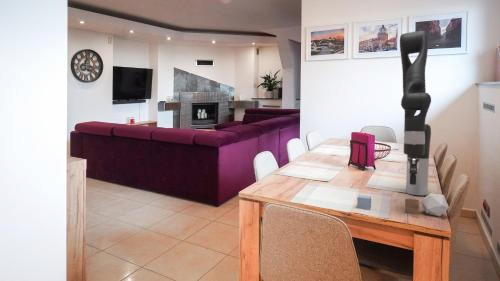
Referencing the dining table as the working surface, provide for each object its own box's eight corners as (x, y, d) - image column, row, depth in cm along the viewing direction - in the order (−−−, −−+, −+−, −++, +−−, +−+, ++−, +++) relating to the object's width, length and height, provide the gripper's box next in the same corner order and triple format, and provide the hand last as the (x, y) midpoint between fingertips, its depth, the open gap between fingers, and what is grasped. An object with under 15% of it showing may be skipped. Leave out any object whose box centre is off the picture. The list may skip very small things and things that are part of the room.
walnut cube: (405, 210, 133) (405, 198, 133) (418, 211, 131) (419, 199, 131) (404, 213, 129) (405, 200, 129) (418, 214, 127) (419, 202, 126)
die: (418, 214, 126) (447, 222, 121) (422, 192, 125) (452, 199, 120) (418, 208, 133) (446, 216, 129) (423, 188, 132) (451, 194, 128)
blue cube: (358, 206, 139) (359, 194, 139) (371, 207, 137) (371, 196, 136) (357, 208, 134) (357, 197, 134) (369, 210, 132) (370, 198, 132)
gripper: (404, 141, 137) (402, 179, 138) (403, 143, 124) (402, 184, 125) (424, 142, 133) (422, 180, 134) (425, 143, 121) (423, 186, 121)
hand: (412, 182), depth 130 cm, fingers open, 8 cm apart
